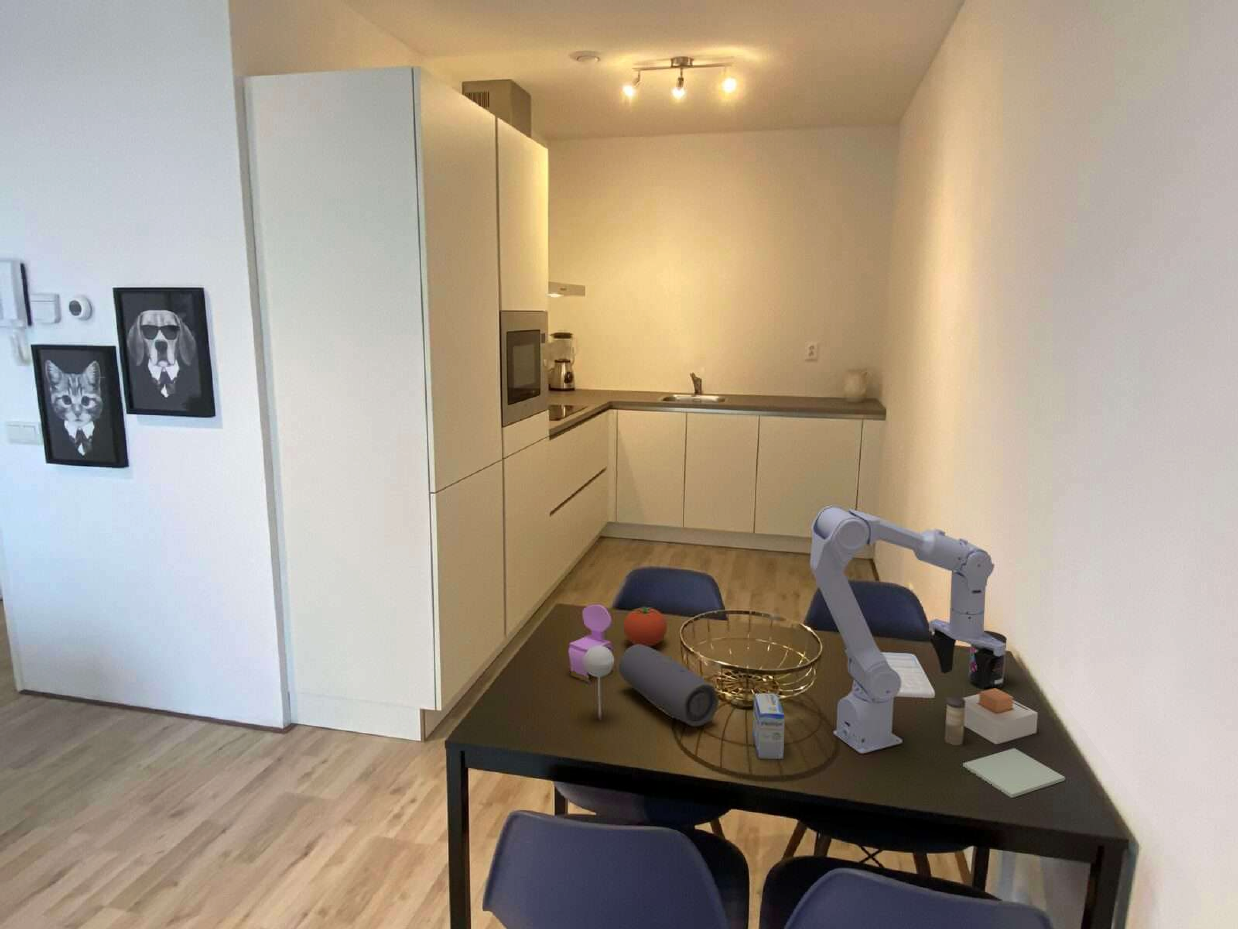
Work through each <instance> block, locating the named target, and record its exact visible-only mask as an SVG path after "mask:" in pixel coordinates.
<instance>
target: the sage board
mask: <svg viewBox="0 0 1238 929" xmlns="http://www.w3.org/2000/svg"><path fill="white" fill-rule="evenodd" d="M962 767H963V768H964V767H965V768H964V769H966V768H967V769H966V770H968V771H969V770H970V771H969V772H971V773H972V774H974V773H975V774H976V775H975V774H974V775H975V776H977V777H978V778H980V777H981V778H980V779H982V781H985V782H986V781H987V783H988V784H990V785H991V784H992V785H991V786H993V787H994V788H995V789H997V790H998V791H1000V790H1001V791H1000V792H1002V793H1004V794H1005V795H1006V796H1008V797H1010V798H1011V799H1012V798H1016V797H1018V796H1021V795H1025V794H1028V793H1031V792H1033V791H1037V790H1040V789H1043V788H1047V787H1049V786H1051V785H1057V784H1058V783H1061V782H1065V781H1066V780H1065V779H1066V777H1065V776H1064V775H1062V774H1060V773H1059V772H1057V771H1055V770H1053V769H1052V768H1050V767H1049V766H1046V765H1045V764H1043V763H1041V762H1039V761H1038V760H1035V759H1034V758H1032V757H1031V756H1028V755H1027V754H1026V753H1024V752H1022V751H1020V750H1018V749H1016V748H1010V749H1007V750H1004V751H1000V752H997V753H994V754H990V755H987V756H983V757H979V758H977V759H973V760H970V761H966V762H963V763H962Z"/></svg>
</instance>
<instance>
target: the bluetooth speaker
mask: <svg viewBox="0 0 1238 929" xmlns="http://www.w3.org/2000/svg"><path fill="white" fill-rule="evenodd" d="M619 662H620V663H619V666H618V671H619V674H620V675H621V678H622V679H624V681H625V682H626V683H627V684H628V685H630V687H632V688H633V689H634V690H636V691H637V692H638V693H640V695H642V696H643V697H644V698H645V699H646V700H648V701H649V703H650V702H652V703H653V704H654V705H656V706H658V707H659V708H661V709H662V710H664V711H665V712H666V713H668V714H669V715H671V716H673V717H676V718H678V719H677V720H680V721H681V722H684V723H685V724H687V725H689V726H692V727H700V726H703V725H705V724H707V723H708V722H710V720H712V719H713V717H714V716H715V714H716V712H717V709H718V706H719V695H718V692H717V690H716V689H715V687H714V686H713V685H711V684H710V683H709V682H708V681H707V680H705V679H704V678H702V677H701V676H699V675H698V674H696V673H695V672H694V671H692V670H690V669H689V668H687V667H686V666H684V665H682V664H681V663H680V662H678V661H676V660H675V659H673V658H671V657H669V656H668V655H666V654H663V653H661V652H660V651H658V650H656V649H654V648H652V647H648V646H645V645H641V644H636V645H635V644H633V645H631V646H630V647H628V648H627V649H626V650H625V651H624V653H623V655H622V657H621V658H620V661H619ZM652 703H651V704H652ZM653 704H652V705H653ZM654 705H653V706H654Z"/></svg>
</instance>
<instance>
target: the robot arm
mask: <svg viewBox="0 0 1238 929" xmlns="http://www.w3.org/2000/svg"><path fill="white" fill-rule="evenodd" d="M810 531H811V535H812V536H811V537H812V540H811V549H810V550H811V551H810V558H809V560H810V561H809V566H810V570H811V573H812V575H813V576H814V579H815V581H816V583H817V585H818V587H819V590H820V592H821V594H822V596H823V599H824V601H825V603H826V606H827V607H828V609H829V613H830V614H831V617H832V619H833V621H834V623H835V625H836V627H837V629H838V631H839V634H840V636H841V638H842V640H843V643H844V645H845V648H846V649H845V651H844V652H845V654H846V657H847V672H848V674H849V675H850V676H851V677H852V678H853V680H852V686H851V687H852V689H851V691H850V692H849V693H848V695H846V696H844V697H842V698H840V699H839V701H838V702H837V708H836V730H833V735H835V736H836V737H837V738H838V739H840V740H841V741H843V742H844V743H846V744H847V745H848V746H849V747H851V748H852V749H854V750H855V751H856V752H858V753H859V754H861V755H862V754H867V753H870V752H873V751H876V750H877V751H878V750H882V749H884V748H888V747H892V746H895V745H900V744H903V740H902V739H901V738H900V737H898V736H896V735H895V734H894V733H893V714H894V711H893V710H894V698H895V697H897V696H896V695H897V694H898V692H899V690H900V688H901V679H900V676H899V674H898V673H897V672H896V671H895V670H893V669H892V668H891V667H890V666H889V664H888V662H887V660H886V659H885V657H884V656H883V654H882V653H881V652H882V651H881V650H880V649H879V647H878V646H877V644H876V641H875V639H874V636H873V635H872V633H871V630H870V627H869V625H868V623H867V621H866V619H865V617H864V616H865V615H863V612H862V610H861V607H860V606H859V603H858V600H857V598H856V596H855V594H854V593H853V589H852V587H851V585H850V583H849V581H848V579H847V577H846V574H845V572H844V570H845V568H846V566H847V565H848V564H849V563H850V562H851V561H852V560H853V559H854V558H855V557H856V556H857V555H858V554H859V553H860V551H862V549H863V548H864V547H865V546H866V545H867V546H873V545H874V544H876V542H878V541H882V542H885V543H888V544H892V545H895V546H899V547H902V548H904V549H909V550H911V551H913V553H914V556H915V558H916V559H917V560H919V561H921V562H923V563H926V564H929V565H932V566H934V567H938V568H940V569H944V570H946V571H950V572H951V574H950V576H951V580H950V583H951V584H950V600H949V601H950V604H949V605H950V607H949V621H945V620H940V619H937V618H936V619H932V620H929V624H928V625H929V626H928V631H929V632H933V634H932V635H930V636H929V642H930V643H931V645H932V647H933V648H934V651H935V652H936V655H937V659H938V662H939V666H940V669H941V674H947V673H950V672H952V671H953V670H952V669H953V667H954V666H953V665H954V651H955V647H956V642H957V641H958V642H962V643H966V644H969V645H970V646H971V645H974V646H976V647H979V648H982V651H979V652H976V653H974V657H975V661H976V665H977V686H978V687H977V686H976V687H977V689H980V690H982V689H983V688H985V687H987V686H988V684H989V681H990V678H991V675H992V673H993V670H994V668H995V667H996V665H997V663H998V662H999V660H1000V659H1001V658H1002V656H1003V655H1004V654H1005V655H1006V653H1007V652H1006V651H1007V643H1006V644H1005V643H1003V642H1000V641H998V640H997V639H995V638H993V637H992V636H990V635H988V634H987V633H985V632H984V631H985V629H984V628H985V627H984V626H985V612H986V611H985V608H986V606H985V605H986V591H987V590H986V587H988V586H987V585H988V579H989V578H990V576H991V574H992V573H993V571H994V568H995V564H994V563H993V562H992V557H991V555H990V554H989V553H988V552H987V551H986V550H984V549H982V548H981V547H978V546H976V545H974V544H973V543H970V542H968V540H967V539H965V538H963V537H961V538H959V539H956V538H954V537H951V536H948V535H945V534H946V532H945V531H943V530H941V529H939V528H935V529H934V530H932V529H926V530H923V531H921V532H915V531H913V530H911V529H907V528H905V527H903V526H900V525H898V524H895V523H893V522H890V521H888V520H885V519H883V518H880V517H878V516H875V515H872V514H868V513H867V512H861V511H859V510H855V509H850V508H847V510H845V509H844V508H843V507H841V506H839V505H829V506H825V507H823V508H822V509H821V510H820V511H819V512H818V514H816V517H815V519H814V520H813V522H812V524H811V526H810Z"/></svg>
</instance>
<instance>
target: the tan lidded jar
mask: <svg viewBox="0 0 1238 929" xmlns="http://www.w3.org/2000/svg"><path fill="white" fill-rule="evenodd" d="M962 698H963V697H959V696H948V697H947V700H946V701H947V702H946V714H945V715H946V716H945V730H944V741H945V742H946V743H947V744H949V743H950V744H949V745H951V744H952V745H951V746H961V745H963V743H964V728H965V726H964V715H965V700H964V699H962Z"/></svg>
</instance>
